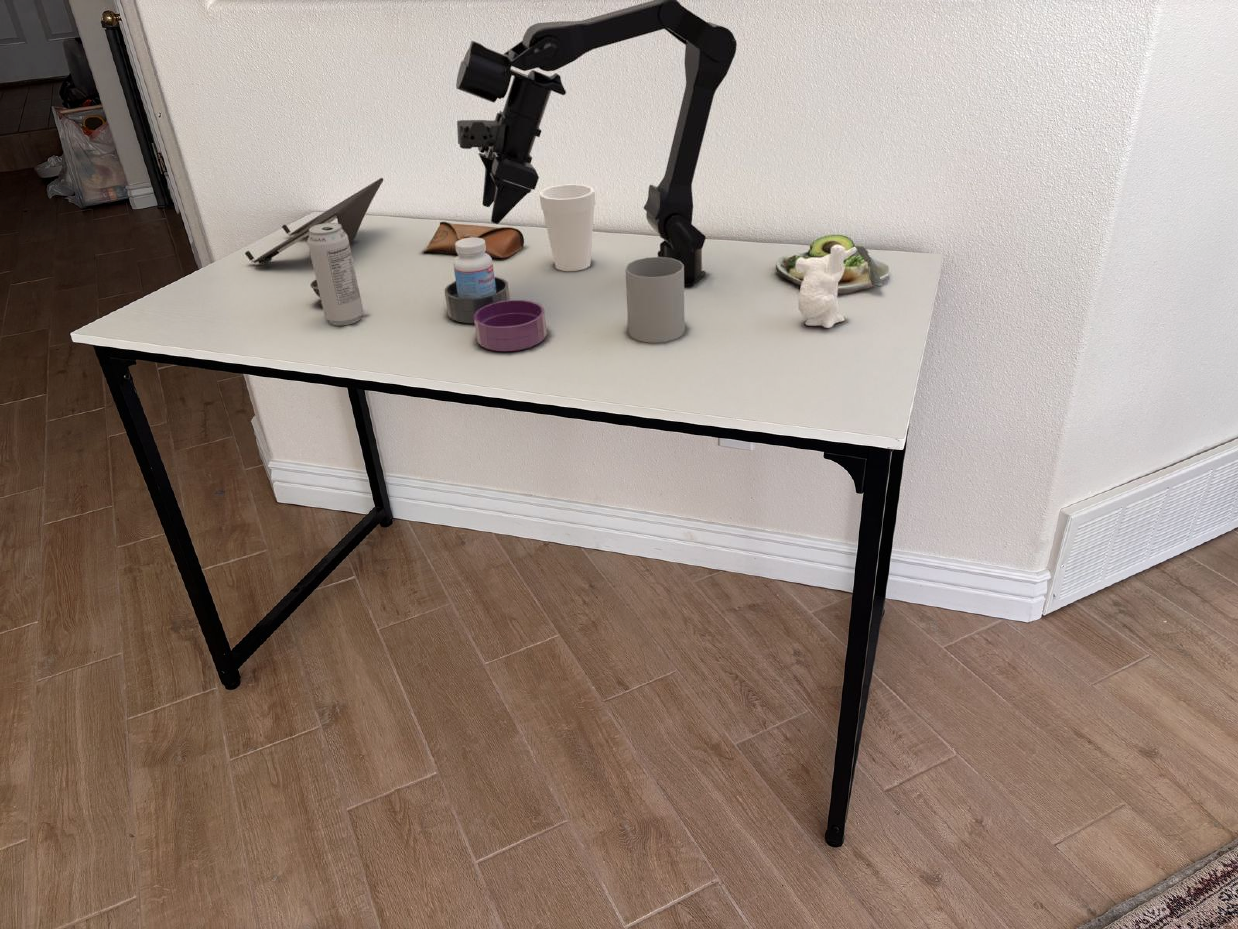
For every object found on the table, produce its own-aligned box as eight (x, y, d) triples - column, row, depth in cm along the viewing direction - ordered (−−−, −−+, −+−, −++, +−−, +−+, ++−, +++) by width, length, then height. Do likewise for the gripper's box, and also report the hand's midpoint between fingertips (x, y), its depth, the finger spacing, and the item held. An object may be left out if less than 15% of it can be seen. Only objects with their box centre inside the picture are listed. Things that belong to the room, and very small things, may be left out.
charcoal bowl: (522, 304, 150) (519, 280, 148) (488, 328, 143) (485, 302, 140) (471, 296, 154) (468, 272, 152) (435, 319, 147) (431, 294, 144)
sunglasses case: (419, 251, 174) (424, 215, 173) (438, 258, 180) (443, 224, 180) (505, 258, 168) (510, 221, 167) (521, 266, 174) (526, 230, 174)
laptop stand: (317, 259, 192) (289, 220, 189) (403, 209, 184) (376, 167, 180) (267, 301, 173) (235, 259, 169) (360, 248, 165) (329, 202, 161)
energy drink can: (347, 309, 152) (327, 219, 144) (372, 316, 149) (353, 224, 141) (318, 322, 148) (296, 230, 140) (343, 329, 145) (322, 236, 137)
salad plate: (921, 286, 148) (925, 258, 146) (826, 307, 143) (828, 279, 140) (850, 251, 164) (852, 225, 161) (762, 269, 158) (763, 243, 156)
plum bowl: (559, 329, 141) (556, 304, 139) (523, 357, 133) (520, 331, 131) (501, 320, 145) (498, 296, 143) (463, 346, 137) (460, 321, 135)
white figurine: (850, 315, 140) (857, 238, 134) (850, 333, 134) (857, 253, 128) (794, 313, 142) (798, 236, 135) (791, 331, 136) (795, 252, 130)
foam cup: (609, 265, 164) (604, 191, 157) (564, 278, 159) (558, 203, 152) (580, 252, 170) (575, 180, 163) (537, 264, 166) (529, 191, 159)
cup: (645, 347, 134) (642, 281, 129) (618, 328, 140) (615, 264, 135) (695, 333, 137) (694, 269, 132) (667, 315, 143) (665, 253, 138)
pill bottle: (491, 318, 145) (482, 248, 139) (455, 317, 146) (444, 248, 140) (503, 303, 150) (495, 235, 144) (467, 302, 151) (458, 235, 145)
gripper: (462, 83, 141) (433, 182, 147) (479, 105, 125) (445, 215, 132) (530, 109, 145) (499, 204, 151) (555, 134, 130) (518, 238, 136)
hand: (489, 214), depth 142 cm, fingers open, 9 cm apart
